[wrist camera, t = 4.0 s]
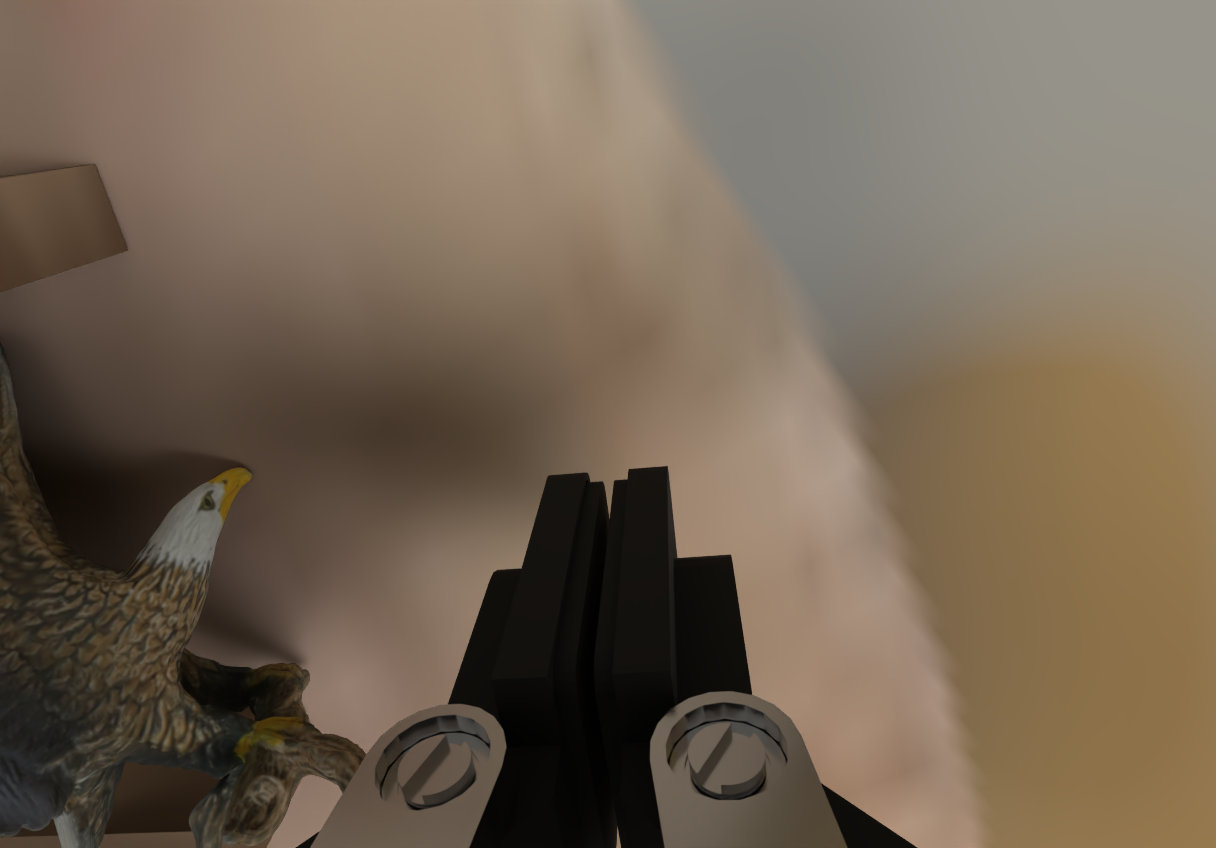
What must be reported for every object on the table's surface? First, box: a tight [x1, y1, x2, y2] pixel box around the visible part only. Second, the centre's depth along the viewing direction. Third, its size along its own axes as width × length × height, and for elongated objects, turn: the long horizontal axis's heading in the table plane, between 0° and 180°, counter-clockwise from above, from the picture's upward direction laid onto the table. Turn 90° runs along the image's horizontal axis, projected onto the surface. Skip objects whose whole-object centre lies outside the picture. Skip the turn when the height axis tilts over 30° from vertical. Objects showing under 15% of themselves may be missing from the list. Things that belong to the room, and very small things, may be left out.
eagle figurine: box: [0, 343, 366, 848], centre depth 11 cm, size 8×7×9 cm
